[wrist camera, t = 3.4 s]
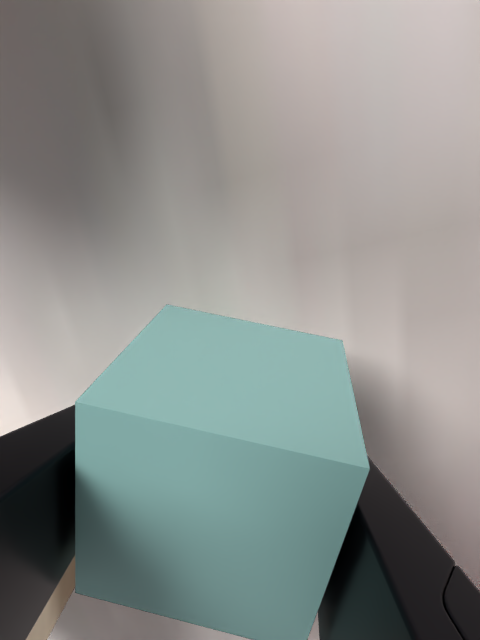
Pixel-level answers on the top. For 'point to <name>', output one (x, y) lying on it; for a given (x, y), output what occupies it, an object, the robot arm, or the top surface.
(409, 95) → the top surface
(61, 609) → the birch lower block
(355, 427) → the teal cube
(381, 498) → the robot arm
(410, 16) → the top surface
